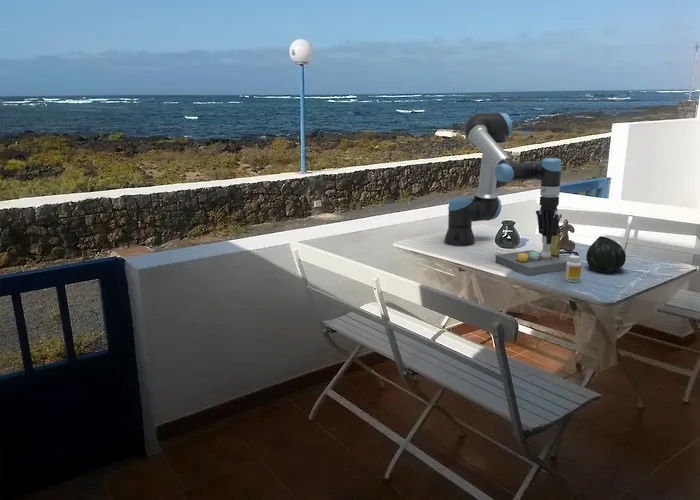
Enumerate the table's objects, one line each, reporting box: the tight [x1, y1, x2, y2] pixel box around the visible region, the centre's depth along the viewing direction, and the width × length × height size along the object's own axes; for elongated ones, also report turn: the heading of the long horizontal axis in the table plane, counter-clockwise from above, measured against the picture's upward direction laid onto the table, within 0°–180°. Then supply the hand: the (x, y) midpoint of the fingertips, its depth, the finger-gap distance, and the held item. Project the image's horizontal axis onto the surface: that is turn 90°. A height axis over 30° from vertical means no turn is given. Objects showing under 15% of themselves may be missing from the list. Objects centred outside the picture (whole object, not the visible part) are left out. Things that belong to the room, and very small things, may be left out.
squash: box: [585, 235, 627, 273], centre depth 217 cm, size 14×15×15 cm
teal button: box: [529, 250, 541, 262], centre depth 224 cm, size 4×4×4 cm
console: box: [494, 249, 569, 277], centre depth 226 cm, size 22×20×4 cm
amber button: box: [518, 253, 528, 263], centre depth 222 cm, size 4×4×4 cm
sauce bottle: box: [550, 223, 562, 259], centre depth 237 cm, size 7×6×20 cm
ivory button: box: [540, 250, 551, 260], centre depth 226 cm, size 4×4×4 cm
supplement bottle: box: [564, 254, 582, 283], centre depth 205 cm, size 5×5×10 cm
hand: (546, 250), depth 225 cm, fingers closed
